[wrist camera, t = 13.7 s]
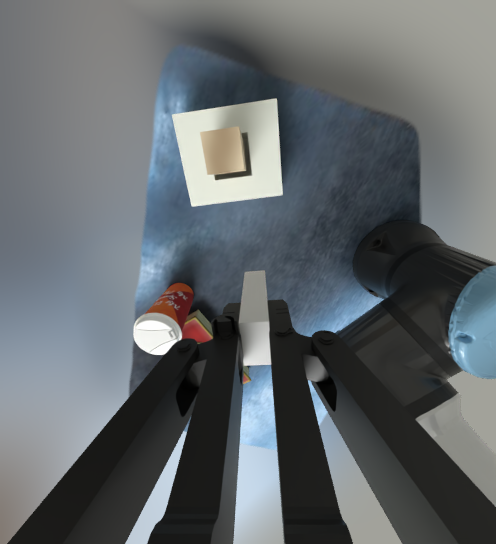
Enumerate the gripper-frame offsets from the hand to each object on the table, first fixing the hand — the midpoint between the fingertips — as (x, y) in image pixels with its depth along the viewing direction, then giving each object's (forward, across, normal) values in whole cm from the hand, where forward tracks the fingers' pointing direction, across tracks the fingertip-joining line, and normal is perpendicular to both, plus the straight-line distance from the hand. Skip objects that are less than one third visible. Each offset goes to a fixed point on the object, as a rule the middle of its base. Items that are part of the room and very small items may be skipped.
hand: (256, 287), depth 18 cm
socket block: (+26, +3, -11) cm, 29 cm away
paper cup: (+27, +17, +14) cm, 35 cm away
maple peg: (+25, +3, -11) cm, 27 cm away
